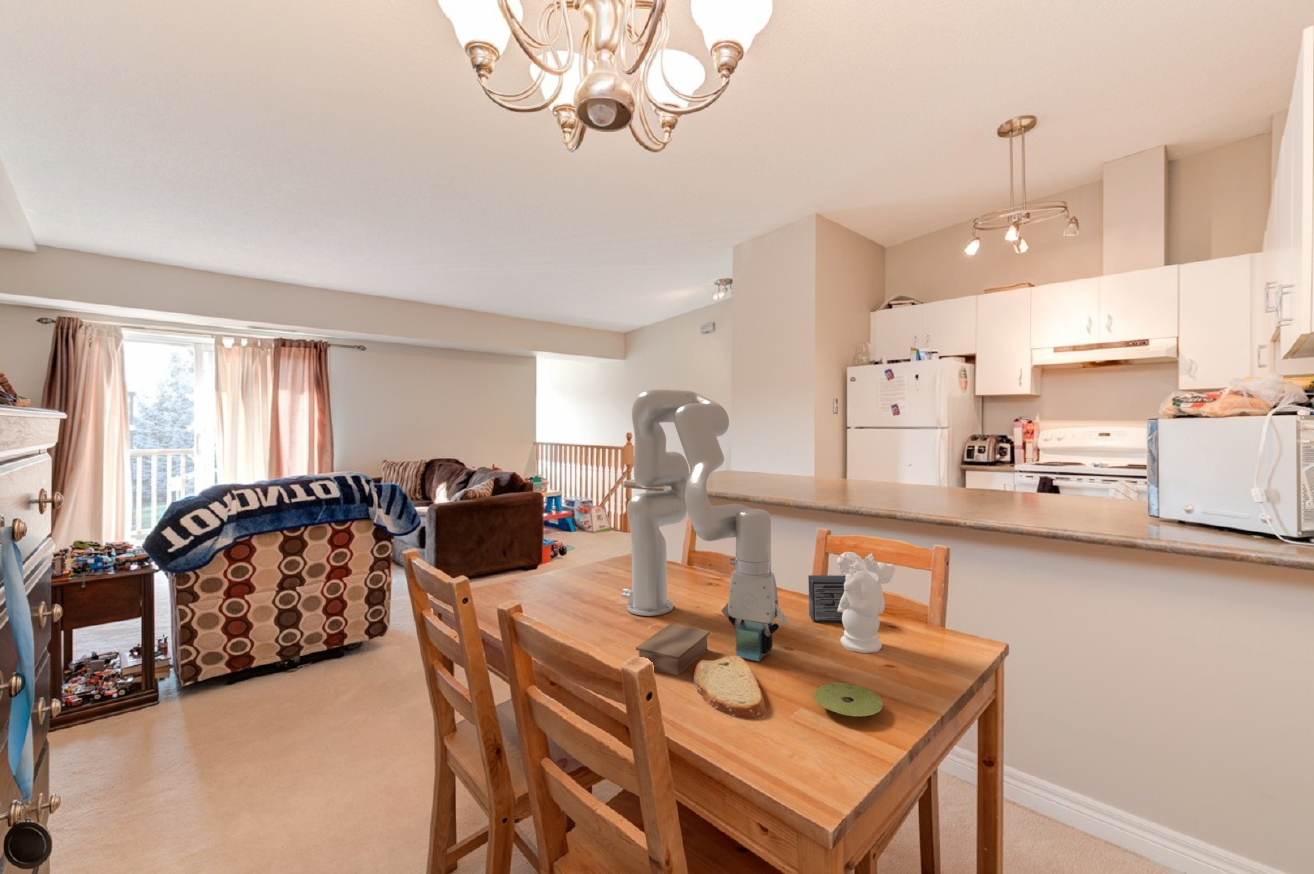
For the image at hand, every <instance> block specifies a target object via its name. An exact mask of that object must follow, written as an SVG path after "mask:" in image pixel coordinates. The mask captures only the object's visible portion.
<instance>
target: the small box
mask: <svg viewBox="0 0 1314 874" xmlns="http://www.w3.org/2000/svg"><path fill="white" fill-rule="evenodd" d="M845 578H846V575H843V574H841V575H837V574H836V575H831V574H829V575H826V574H825V575H820V574H819V575H813V574H812V575H810V574H809V575H808V578H807V579H808V609H809V610H808V615H809V617H810V619H811V620H812V621H811V622H813V623H822V624H823V623H826V624H827V623H829V624H830V623H831V624H834V623H837V624H843V623H842V614H843V613H842V612H838V611H837V610H838V606H839V603H840V600H841V598H842V596H843V594H844V591H845V590H844V583H845V581H846V579H845Z"/></svg>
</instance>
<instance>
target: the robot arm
mask: <svg viewBox="0 0 1314 874" xmlns="http://www.w3.org/2000/svg"><path fill="white" fill-rule="evenodd" d="M631 420H632V426H633V433H634V446H633V447H634V448H633V449H634V450H633V452H634V453H633V478H634V482H635V484H636V485H637V486H638V487H641V488H643V489H644V488H645V489H652V488H654V489H655V488H663V490H659V491H657V490H656V491H650V492H649V491H647V492H641V493H638V494H636V495H634V496H632V497H631V498H630V499H629V501H628V503H627V505H626V515H627V521H628V526H629V530H630V531H629V532H630V542H631V543H630V546H631V548H630V549H631V588H632V589H631V588H630V589H629V588H623V589H622V590H621V591H622V592H621V598H624V599H628V602H627V604H626V609H627V611H628V612H629V613H631V614H633V615H638V616H643V617H644V616H645V617H652V616H653V617H654V616H662V615H665V614H667V613H670V612H671V611H672V610H673V609H674V603H673V602H672V601H671V600H670V599H669V598H668V573H667V572H668V571H667V570H668V569H667V568H668V565H667V563H668V561H667V559H668V558H667V557H668V556H667V542H666V539H665V537H664V535H663V534H662V532H661V530H660V527H664V526H671V525H676V524H679V523H681V522H683V521H684V519H685V518H686V516H687V515H688V518H689V520H690V523H691V526H692V529H693V530H694V532H695V533H696V535H697V536H698V537H699V538H700V539H702V540H703V541H705V542H714V541H720V540H725V539H731V538H732V539H733V538H735V557H734V558H733V557H731V558H730V560H729V564H730V565H733V566H734V570H732V572H731V575H730V576H731V577H730V582H729V590H728V591H729V592H728V602H727V603H726V604H725V605H724V607H723V608H722V609H721V614H723V615H724V616H725V617H726V618H727V620H728V621H729V623H731V624H732V626H733V629H734V631H736V628H737V627H739V626H740V625H741V624H742V623H743V622H744V621H745V620H746V621H751V622H757V623H762V625H763V629H764V635H763V654H765V655H767V654H768V653H769V652H770V651H771V650H772V649H773V634H774V633H775V632H777V630H778V629H780V628H782V627H783V626H785V625H786V624H787V623H788V621H789V620H788V618H787V617H786V615H785V614H784V612H783V611H782V610H781V608H780V607H779V596H778V588H777V582H776V577H775V573H774V572H772V529H771V528H772V518H771V514H770V512H769V511H768V510H766V509H762V508H755V507H754V508H751V507H750V506H746V505H744V504H742V503H727V504H720V505H714V506H713V505H712V504H711V502H710V499H709V497H708V490H707V484H708V483H707V482H708V478H709V477H710V475H711V473H712V472H714V471H716V470H717V469H719V468H720V467H721V466H722V465H723V464H724V462H725V455H724V453H723V451H722V447H721V445H720V443H719V439H718V437H722V436H723V435H724V434H725V433H726V432H727V431H728V429H729V426H730V418H729V415H728V413H727V411H726V409H725V408H724V407H723V406H722V405H721V404H720V403H718V402H715V401H714V400H711V399H710V398H707V397H705V396H703V395H701V394H699V393H697V392H695V391H691V390H682V389H679V390H677V389H676V390H675V389H672V390H671V389H650V390H649V389H648V390H645V391H643V392H641V393H639V394H638V396H636V397H635V400H634V402H633V405H632V410H631ZM661 423H673V424H674V425H675V429H676V432H677V435H678V437H679V441H680V444H681V446H682V449H683V453H684V455H685V456H684V455H683V454H681V453H680V452H677V451H667V437H666V433H665V431H664V428H663V427H662V425H661ZM685 457H686V458H685ZM775 618H776V619H777V621H775V622H774V623H773V621H774V620H775Z"/></svg>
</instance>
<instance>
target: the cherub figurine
mask: <svg viewBox="0 0 1314 874" xmlns="http://www.w3.org/2000/svg"><path fill="white" fill-rule="evenodd" d="M863 561H864V562H863ZM836 563H837V565H838V569H839V570H840V573H841V575H846V578H845V579H846V581H845V583H844V590H845V591H844V594H843V596H842V598H841V600H840V603H839V606H838V610H837V611H838V612H842V613H843V614H842V623H841V624H842V625H843V628H844V630H843V635H842V636H841V637H840V644H841V645H842V646H843V648H844V649H846V650H848V651H852V652H858V653H861V654H869V653H878V652H879V651H880V650H881V649H882V647H883V645H882V642H881V640H880V639H879V634H878V630H879V628H880V617H879V615H881V614H883V613H884V612H885V608H886V607H885V604H886V603H885V597H884V594H883V587H882V584H888V583H890V582H891V580H892V578H893V577H894V573H896V572H895V570H896V567H895V566H894V564H893V563H889V564H887V563H883V562H878V561H876V560H875V557H874V554H873V552H871V553H870V554H868V555H867V556H865V557H864V560H862V557H861V556H860V555H858V554H857V553H856V552H852V551H845V552H843V553H841V554H840V555H839V557H838V558H837V559H836Z"/></svg>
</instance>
